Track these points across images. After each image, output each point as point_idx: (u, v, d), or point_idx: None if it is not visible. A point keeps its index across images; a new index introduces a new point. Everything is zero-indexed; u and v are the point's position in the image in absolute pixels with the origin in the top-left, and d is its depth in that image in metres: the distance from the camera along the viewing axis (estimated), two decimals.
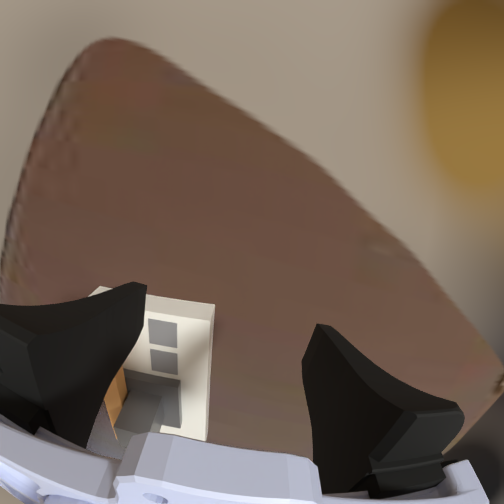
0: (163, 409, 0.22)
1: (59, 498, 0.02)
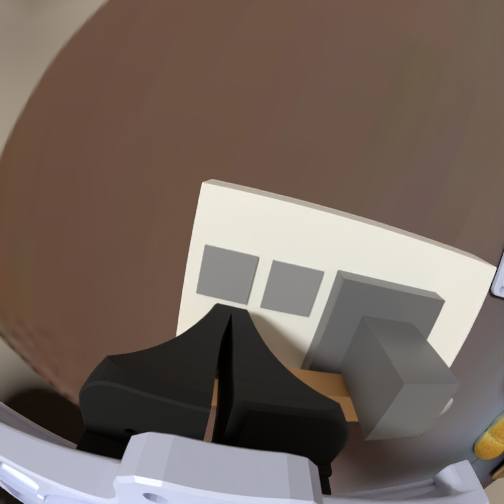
0: (393, 321, 0.12)
1: (59, 498, 0.02)
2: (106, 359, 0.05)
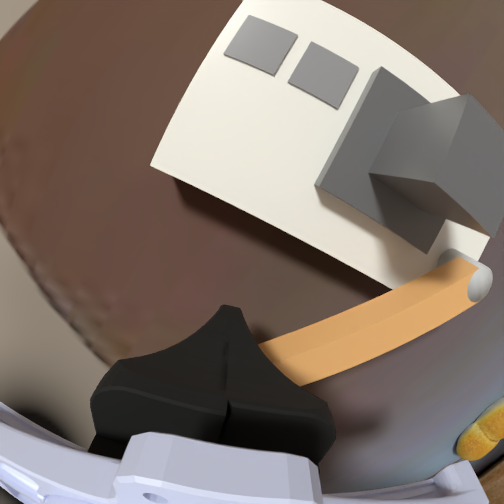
0: None
1: (59, 498, 0.02)
2: (118, 363, 0.05)
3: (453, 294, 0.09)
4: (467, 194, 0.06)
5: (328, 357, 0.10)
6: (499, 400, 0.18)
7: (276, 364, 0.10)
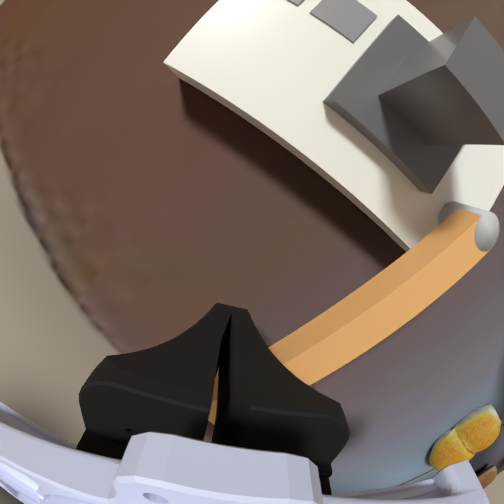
0: None
1: (59, 498, 0.02)
2: (106, 359, 0.05)
3: (460, 249, 0.09)
4: (477, 89, 0.05)
5: (346, 341, 0.10)
6: (480, 408, 0.19)
7: (295, 359, 0.10)
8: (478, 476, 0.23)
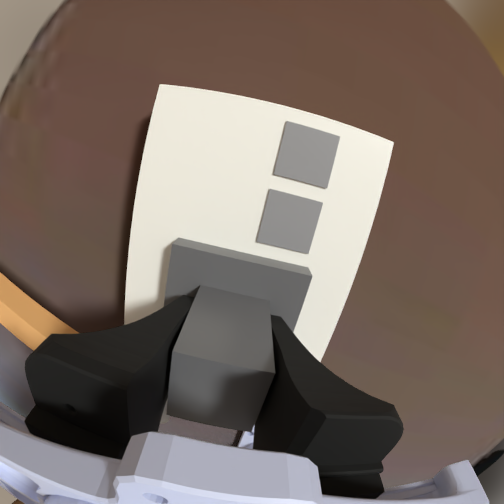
0: None
1: (59, 498, 0.02)
2: (49, 336, 0.05)
3: None
4: (181, 383, 0.08)
5: (29, 334, 0.11)
6: None
7: (5, 306, 0.10)
8: None
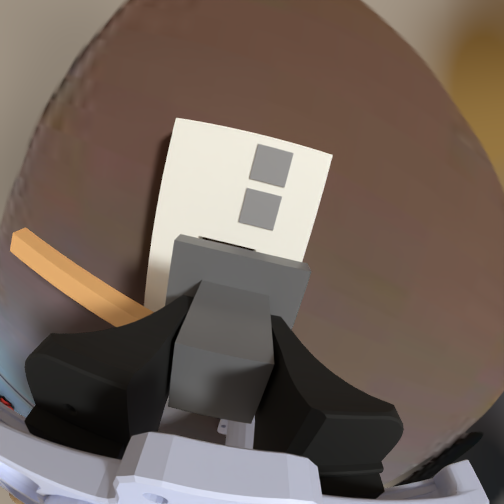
0: None
1: (59, 498, 0.02)
2: (49, 336, 0.05)
3: None
4: (183, 374, 0.08)
5: (75, 288, 0.17)
6: None
7: (57, 268, 0.17)
8: None
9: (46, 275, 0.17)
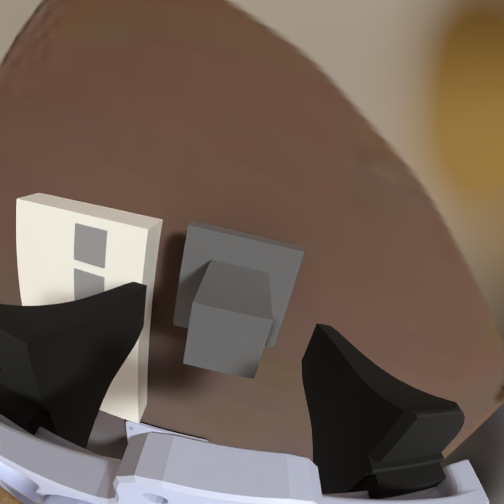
0: None
1: (59, 498, 0.02)
2: None
3: None
4: (198, 331, 0.10)
5: None
6: None
7: None
8: None
9: None
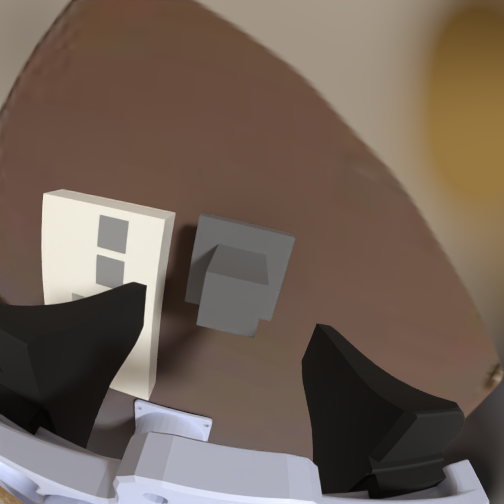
0: None
1: (59, 498, 0.02)
2: None
3: None
4: (209, 295, 0.13)
5: None
6: None
7: None
8: None
9: None
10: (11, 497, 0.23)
